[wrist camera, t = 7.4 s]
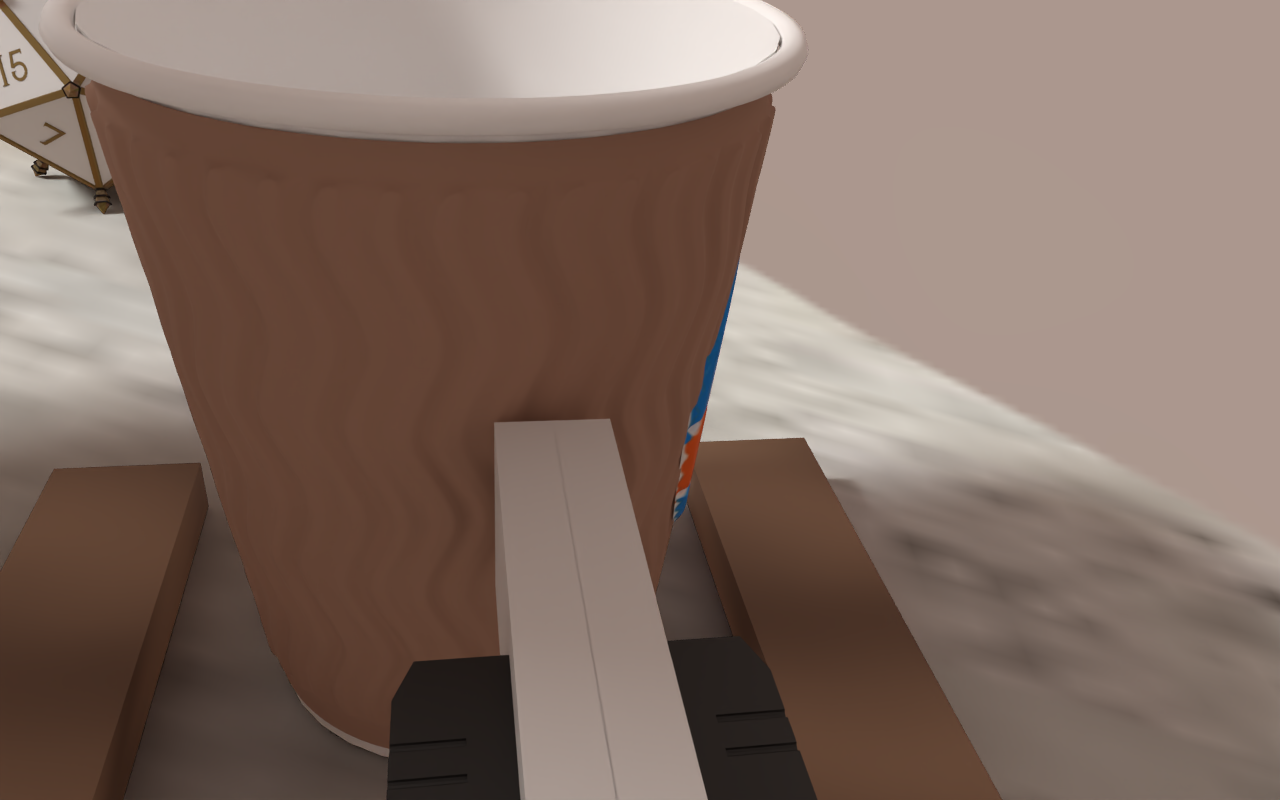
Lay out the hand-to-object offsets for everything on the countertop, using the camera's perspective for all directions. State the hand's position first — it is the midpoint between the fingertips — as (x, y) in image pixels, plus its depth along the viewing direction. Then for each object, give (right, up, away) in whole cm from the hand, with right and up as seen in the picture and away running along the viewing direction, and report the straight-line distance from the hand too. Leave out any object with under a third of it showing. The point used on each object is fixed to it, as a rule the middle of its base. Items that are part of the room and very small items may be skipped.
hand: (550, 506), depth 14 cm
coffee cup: (-2, -3, +7) cm, 8 cm away
